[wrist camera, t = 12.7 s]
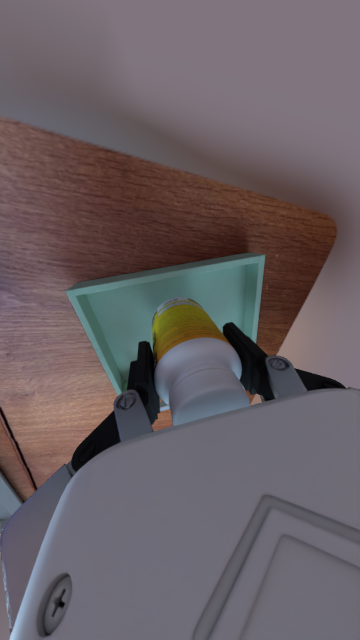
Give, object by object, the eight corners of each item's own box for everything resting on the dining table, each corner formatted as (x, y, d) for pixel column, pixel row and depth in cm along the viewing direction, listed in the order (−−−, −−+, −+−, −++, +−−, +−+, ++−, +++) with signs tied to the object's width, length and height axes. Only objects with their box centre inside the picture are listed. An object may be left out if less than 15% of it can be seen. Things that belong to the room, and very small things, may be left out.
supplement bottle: (142, 306, 15) (134, 402, 6) (197, 287, 15) (265, 355, 6) (162, 349, 18) (176, 460, 9) (209, 333, 18) (268, 426, 9)
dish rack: (77, 282, 16) (28, 313, 9) (249, 252, 17) (308, 261, 11) (121, 380, 22) (111, 438, 16) (242, 352, 24) (277, 394, 18)
